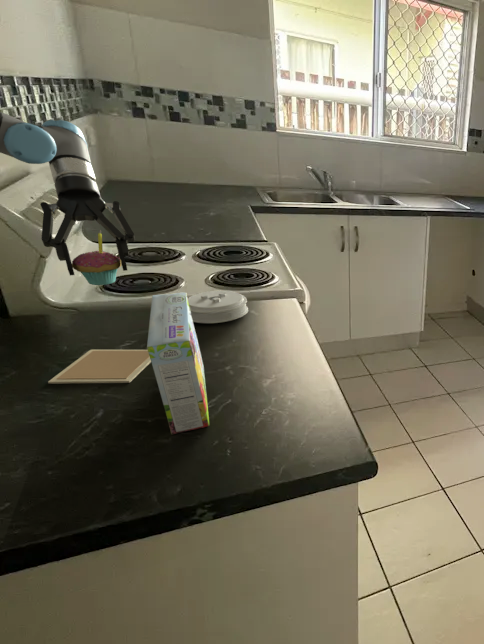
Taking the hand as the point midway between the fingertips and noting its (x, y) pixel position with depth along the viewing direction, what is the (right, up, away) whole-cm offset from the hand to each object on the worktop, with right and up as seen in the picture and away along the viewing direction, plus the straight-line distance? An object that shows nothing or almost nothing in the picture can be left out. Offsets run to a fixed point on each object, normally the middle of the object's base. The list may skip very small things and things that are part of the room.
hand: (98, 269), depth 105 cm
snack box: (+37, -25, -25) cm, 52 cm away
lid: (+24, -10, +4) cm, 26 cm away
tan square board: (+19, -20, -19) cm, 34 cm away
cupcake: (-3, -2, +4) cm, 5 cm away
